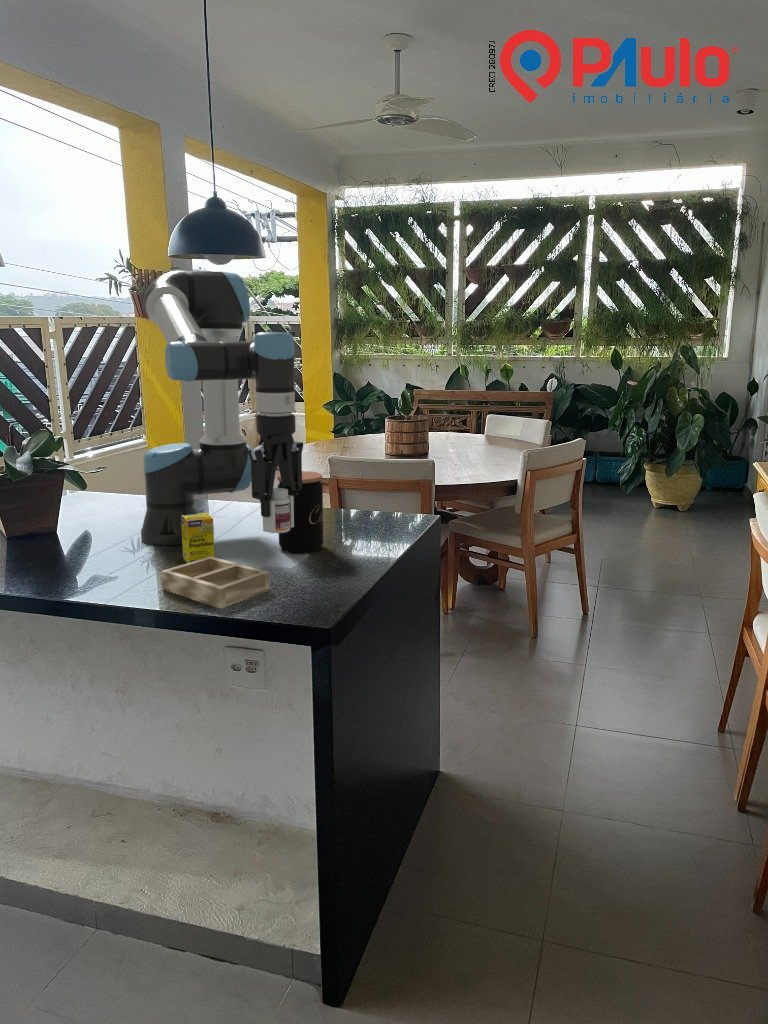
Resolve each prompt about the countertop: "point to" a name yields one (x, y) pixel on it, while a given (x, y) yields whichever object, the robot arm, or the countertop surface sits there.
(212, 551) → the supplement box
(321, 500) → the coffee jar
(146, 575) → the countertop surface
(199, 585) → the divided wooden tray
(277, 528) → the pill bottle
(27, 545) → the countertop surface
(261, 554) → the countertop surface
